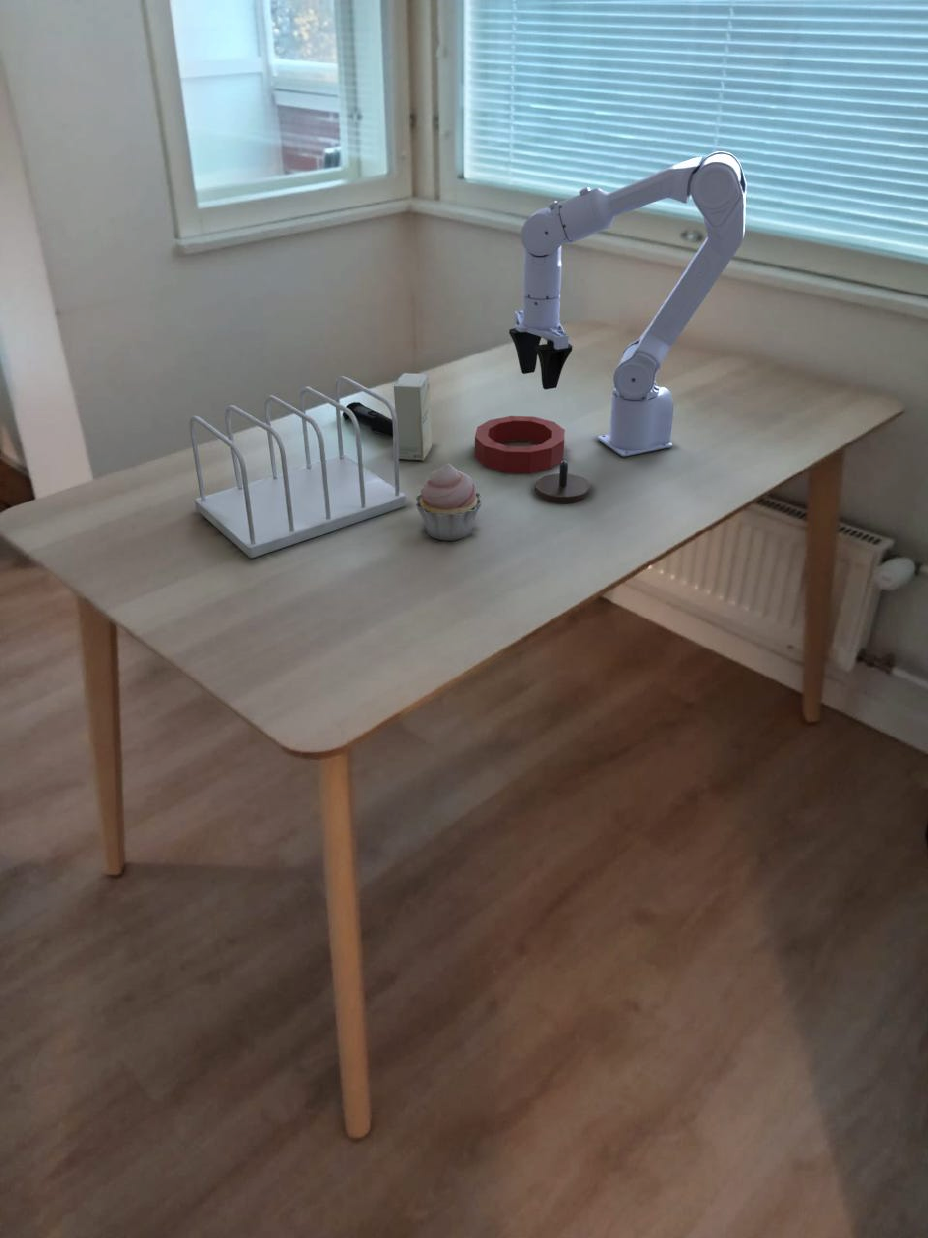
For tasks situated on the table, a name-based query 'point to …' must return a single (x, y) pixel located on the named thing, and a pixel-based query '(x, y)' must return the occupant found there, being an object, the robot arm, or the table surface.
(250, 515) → the file sorter
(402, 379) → the cosmetic box
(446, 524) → the cupcake
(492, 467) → the ring
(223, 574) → the table surface
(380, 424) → the electric trimmer
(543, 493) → the peg stand
